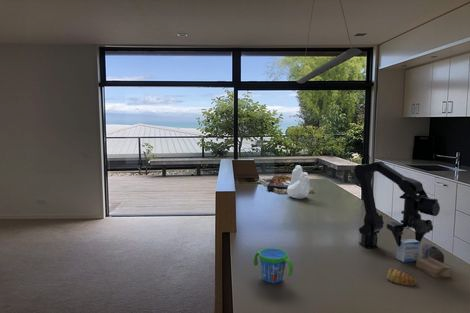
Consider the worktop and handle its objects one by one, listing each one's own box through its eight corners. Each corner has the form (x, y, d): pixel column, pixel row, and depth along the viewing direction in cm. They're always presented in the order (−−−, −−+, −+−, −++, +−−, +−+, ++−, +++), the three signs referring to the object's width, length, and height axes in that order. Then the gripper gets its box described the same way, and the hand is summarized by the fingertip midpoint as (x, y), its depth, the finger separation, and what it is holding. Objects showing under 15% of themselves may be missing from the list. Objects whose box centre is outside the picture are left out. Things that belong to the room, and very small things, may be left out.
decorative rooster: (285, 194, 274) (286, 163, 271) (304, 195, 274) (306, 164, 272) (291, 202, 249) (293, 168, 246) (313, 202, 249) (314, 168, 247)
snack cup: (247, 277, 129) (247, 251, 128) (264, 268, 137) (265, 244, 136) (281, 292, 119) (282, 263, 118) (298, 282, 126) (299, 255, 125)
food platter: (297, 193, 281) (298, 180, 280) (267, 190, 286) (268, 178, 285) (299, 182, 324) (300, 171, 323) (273, 180, 330) (274, 169, 328)
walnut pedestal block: (434, 278, 132) (435, 268, 132) (415, 267, 142) (416, 258, 142) (449, 277, 134) (450, 267, 133) (430, 266, 144) (431, 257, 143)
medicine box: (403, 262, 146) (405, 243, 145) (395, 258, 150) (397, 239, 149) (418, 261, 148) (420, 241, 147) (410, 257, 152) (412, 238, 151)
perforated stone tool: (417, 253, 157) (418, 238, 156) (429, 254, 156) (431, 239, 155) (431, 267, 142) (432, 251, 141) (444, 268, 141) (446, 252, 141)
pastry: (416, 282, 129) (417, 272, 129) (413, 289, 124) (414, 279, 123) (389, 275, 135) (390, 265, 134) (385, 281, 129) (386, 271, 129)
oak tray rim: (276, 193, 277) (277, 190, 276) (258, 182, 327) (259, 178, 327) (314, 192, 283) (314, 189, 283) (290, 181, 334) (290, 178, 334)
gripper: (405, 216, 137) (401, 254, 139) (444, 214, 141) (441, 251, 143) (387, 209, 148) (384, 244, 150) (424, 207, 152) (421, 241, 154)
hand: (408, 245), depth 149 cm, fingers open, 9 cm apart
